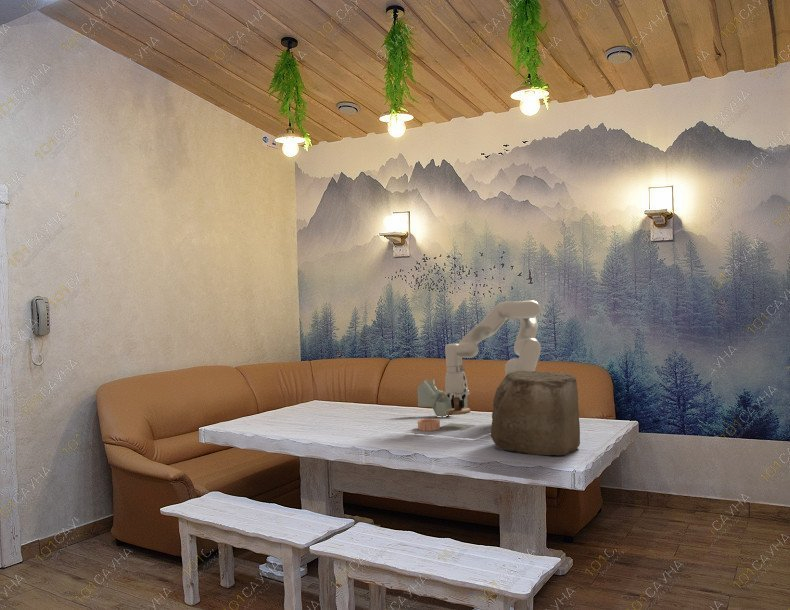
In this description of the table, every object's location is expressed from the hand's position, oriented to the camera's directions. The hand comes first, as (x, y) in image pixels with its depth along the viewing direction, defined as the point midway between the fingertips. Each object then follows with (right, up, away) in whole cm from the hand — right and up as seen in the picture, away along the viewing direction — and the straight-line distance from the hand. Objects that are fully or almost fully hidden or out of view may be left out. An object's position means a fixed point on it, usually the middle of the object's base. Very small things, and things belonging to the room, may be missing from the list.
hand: (457, 407), depth 303 cm
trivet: (-1, -10, 0) cm, 10 cm away
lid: (0, -2, 0) cm, 2 cm away
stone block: (+25, -9, -49) cm, 56 cm away
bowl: (-14, -10, -3) cm, 18 cm away
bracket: (-5, -10, +34) cm, 36 cm away
